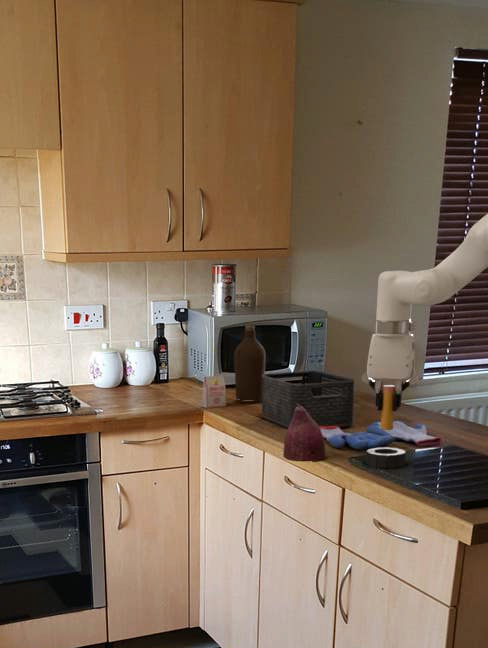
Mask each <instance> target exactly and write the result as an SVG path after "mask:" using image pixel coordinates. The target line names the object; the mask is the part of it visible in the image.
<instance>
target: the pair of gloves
mask: <svg viewBox="0 0 488 648" xmlns="http://www.w3.org/2000/svg"><path fill="white" fill-rule="evenodd" d="M319 428H320V430H321V432H322V435H323V438H325V439H326V441H327V442H328V443H329V444H330V445H331V446H332V447H334V448H335V449H341V448H343V447H344V446H345V445H346V443H347V444H348V446H350V448H351V449H354V450H358V451H363V450H368V449H372V448H382V447H388V446H389V445H391V444H392V443H394V441H399V440H400V441H405V442H408V443H415V444H416V445H417V446H418V447H428V446H434V445H435V446H436V445H440V444H441V442H442V438H441V437H440V436H436V437H435V436H432V435H428V434H427V433H428V432H427V426H426V425H425V424H423V423H417V424H415V425H414V426H413V427H410V426H408V425H406V424H405V423H404V422H402V421H396V420H395V421H394V420H393V429H392V430H382V429H381V421H375V422H373V423H371V424H370V426H367V428H366V429H365V431H366V432H365V431H364V432H363V431H360V432H355V433H349V432H344V431H343V430H342V429H341V427H337V426H332V427H322V426H321V427H319Z"/></svg>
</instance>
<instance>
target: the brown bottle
mask: <svg viewBox="0 0 488 648" xmlns="http://www.w3.org/2000/svg"><path fill="white" fill-rule="evenodd" d="M255 328H256V326H255V325H245V326H244V329H245V330H244V338H243V339H242V341H241V342H240V343H239V344H238V345H237V346H236V348H235V351H234V354H233V363H234V378H235V379H234V381H235V383H234V384H235V401H236V403H238V404H239V403H240V404H259V403H262V375H263V374H266V361H267V359H266V358H267V354H266V350H265V348H264V346H263V345H262V344H261V343H260V342H259V341H258V340H257V338H256V330H255ZM236 398H237V399H240V400H237V399H236ZM260 399H261V400H260ZM243 400H254V401H243Z"/></svg>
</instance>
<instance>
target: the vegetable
mask: <svg viewBox="0 0 488 648" xmlns="http://www.w3.org/2000/svg"><path fill="white" fill-rule="evenodd" d="M326 447H327V446H326V441H325V439H324V437H323V435H322V432H321V430H320V428H319V426H318V425H317V423H316V422H315V421H314V420H313V419H312V418H311V417H310V415H309V414H308V413H307V411H306V410H305V409H304V408H303V407H302V406H300V405H298V404H297V407H296V408H295V411H294V416H293V418H292V421H291V423H290V426H289V428H287V431H286V433H285V437H284V444H283V458H284V459H286V460H287V461H290V462H291V461H292V462H302V463H303V462H305V463H306V462H315V461H322V460H325V458H326V455H327V454H326V453H327V449H326Z"/></svg>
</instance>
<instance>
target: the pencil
mask: <svg viewBox="0 0 488 648" xmlns="http://www.w3.org/2000/svg"><path fill="white" fill-rule="evenodd" d="M382 389H383V396H382V410H381V414H380V415H381V416H380V422H381V429H382V430H392V429H393V421H394V418H395V417H394V416H395V411H393V396H394V394H395V391H396V385H394V384H383V387H382Z"/></svg>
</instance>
